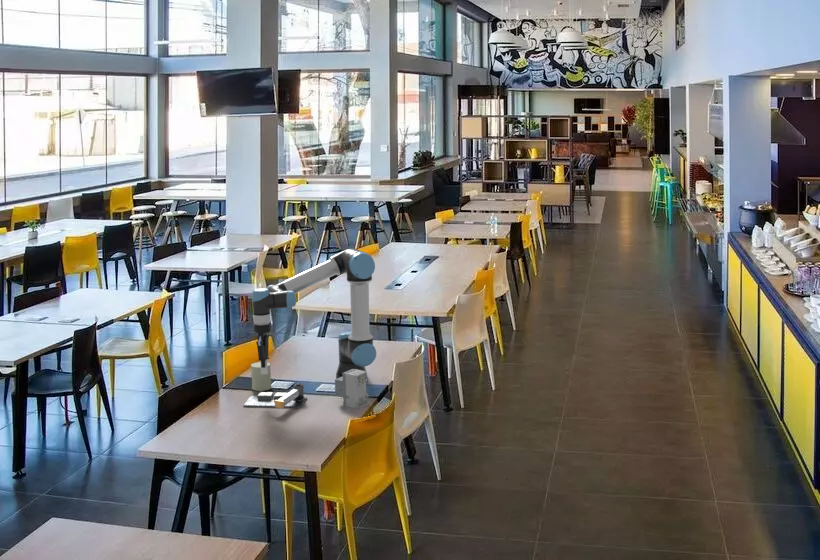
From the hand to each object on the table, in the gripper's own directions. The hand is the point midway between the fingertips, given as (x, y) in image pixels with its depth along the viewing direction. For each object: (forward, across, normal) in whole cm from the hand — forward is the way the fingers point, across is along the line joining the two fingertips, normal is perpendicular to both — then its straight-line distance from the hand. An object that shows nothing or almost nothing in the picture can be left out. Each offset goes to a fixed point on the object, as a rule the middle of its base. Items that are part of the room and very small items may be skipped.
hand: (264, 373), depth 424 cm
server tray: (+12, +4, +6) cm, 14 cm away
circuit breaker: (+13, +2, +40) cm, 42 cm away
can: (+13, -17, -6) cm, 22 cm away
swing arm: (+11, +9, +14) cm, 20 cm away
